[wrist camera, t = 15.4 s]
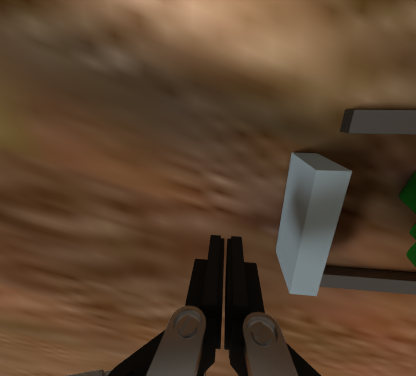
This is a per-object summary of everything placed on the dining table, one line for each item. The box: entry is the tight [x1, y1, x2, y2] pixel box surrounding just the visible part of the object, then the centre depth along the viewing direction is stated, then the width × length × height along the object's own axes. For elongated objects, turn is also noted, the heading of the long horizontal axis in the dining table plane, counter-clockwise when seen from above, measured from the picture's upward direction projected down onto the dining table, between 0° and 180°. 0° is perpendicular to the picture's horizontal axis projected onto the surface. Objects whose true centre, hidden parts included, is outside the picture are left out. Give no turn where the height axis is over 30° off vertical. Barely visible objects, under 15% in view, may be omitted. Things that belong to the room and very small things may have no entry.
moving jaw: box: [276, 153, 352, 296], centre depth 16 cm, size 10×2×5 cm, turn 0°
